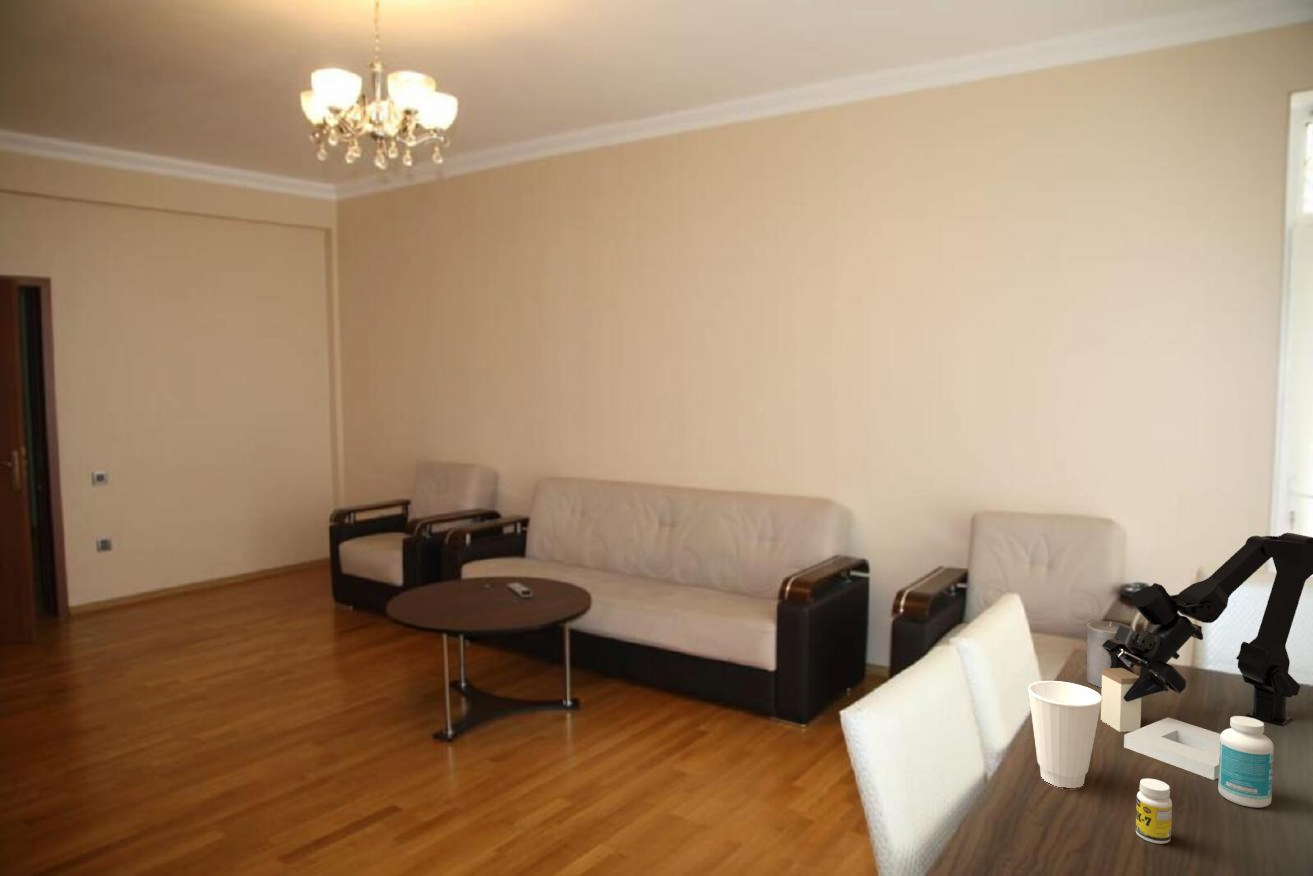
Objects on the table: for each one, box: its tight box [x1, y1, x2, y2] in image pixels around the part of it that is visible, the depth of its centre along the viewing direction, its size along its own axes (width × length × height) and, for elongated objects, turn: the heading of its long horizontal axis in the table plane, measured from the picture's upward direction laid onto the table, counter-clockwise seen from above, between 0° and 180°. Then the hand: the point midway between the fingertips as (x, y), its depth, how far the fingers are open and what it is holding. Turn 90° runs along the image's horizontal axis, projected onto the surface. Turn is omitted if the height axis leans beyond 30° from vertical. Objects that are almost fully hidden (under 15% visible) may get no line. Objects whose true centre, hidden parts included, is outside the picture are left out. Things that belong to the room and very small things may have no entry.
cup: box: [1027, 680, 1102, 788], centre depth 148 cm, size 12×12×16 cm
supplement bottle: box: [1135, 778, 1173, 845], centre depth 130 cm, size 5×5×8 cm
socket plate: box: [1123, 716, 1221, 781], centre depth 159 cm, size 16×16×2 cm
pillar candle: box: [1086, 620, 1135, 688], centre depth 196 cm, size 10×10×15 cm
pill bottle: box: [1217, 715, 1275, 808], centre depth 141 cm, size 8×7×14 cm
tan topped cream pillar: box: [1100, 668, 1142, 733], centre depth 172 cm, size 4×6×11 cm
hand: (1114, 694), depth 172 cm, fingers closed on tan topped cream pillar, 6 cm apart
